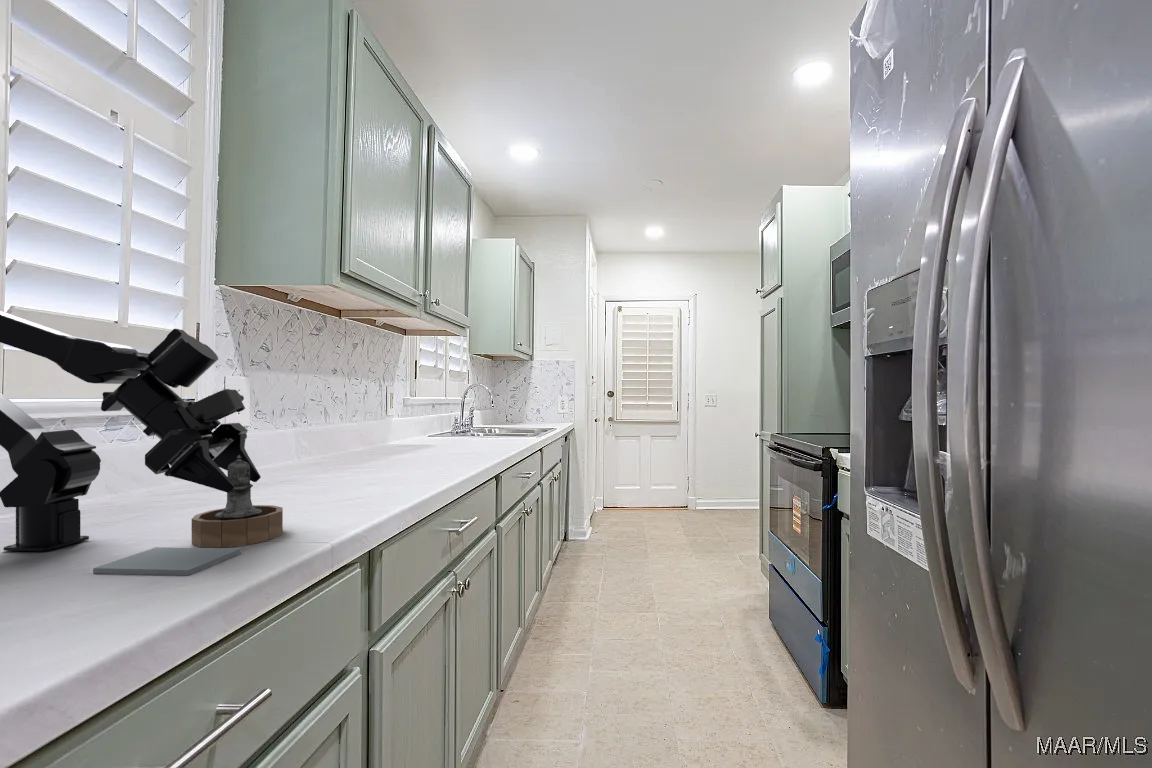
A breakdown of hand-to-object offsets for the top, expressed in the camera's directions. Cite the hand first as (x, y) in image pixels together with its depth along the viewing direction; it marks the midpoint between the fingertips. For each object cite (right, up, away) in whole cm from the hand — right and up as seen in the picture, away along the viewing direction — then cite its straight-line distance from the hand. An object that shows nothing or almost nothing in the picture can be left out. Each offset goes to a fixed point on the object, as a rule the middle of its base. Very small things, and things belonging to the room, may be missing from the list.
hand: (245, 484), depth 84 cm
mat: (-2, -7, -13) cm, 15 cm away
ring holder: (-1, -8, 0) cm, 8 cm away
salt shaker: (-1, -8, 0) cm, 8 cm away
